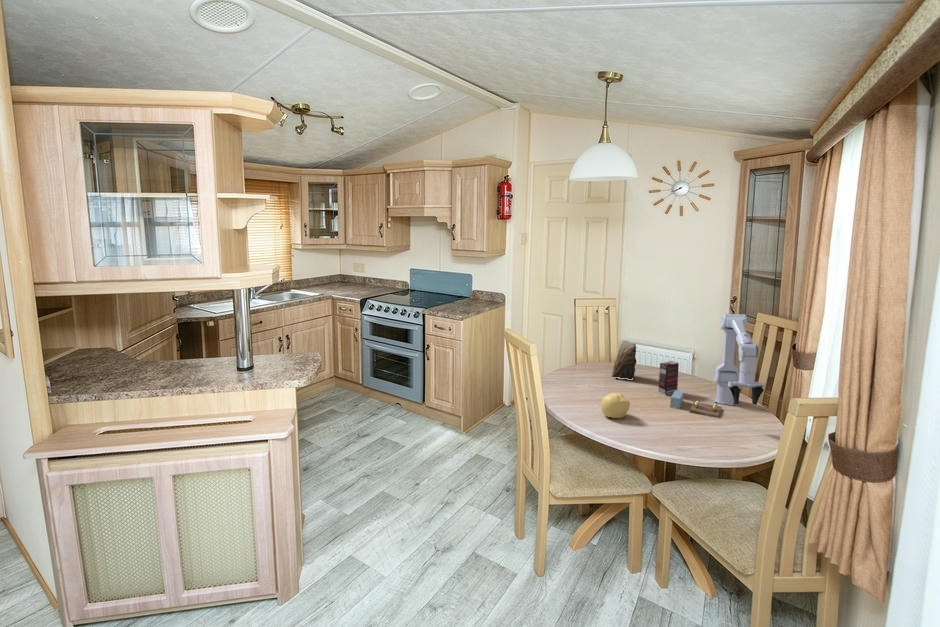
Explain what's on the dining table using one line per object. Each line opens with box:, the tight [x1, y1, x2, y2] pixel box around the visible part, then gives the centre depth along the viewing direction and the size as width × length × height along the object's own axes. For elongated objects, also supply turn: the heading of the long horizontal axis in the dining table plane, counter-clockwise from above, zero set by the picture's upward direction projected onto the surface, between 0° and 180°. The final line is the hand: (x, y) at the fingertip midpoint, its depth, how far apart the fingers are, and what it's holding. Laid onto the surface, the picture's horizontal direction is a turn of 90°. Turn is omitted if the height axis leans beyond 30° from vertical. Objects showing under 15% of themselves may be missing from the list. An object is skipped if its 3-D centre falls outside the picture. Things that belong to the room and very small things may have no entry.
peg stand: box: [689, 400, 723, 418], centre depth 232 cm, size 12×12×4 cm
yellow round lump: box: [600, 392, 631, 419], centre depth 226 cm, size 11×12×11 cm
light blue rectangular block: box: [669, 390, 684, 409], centre depth 240 cm, size 11×4×5 cm, turn 149°
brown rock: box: [611, 339, 637, 379], centre depth 278 cm, size 13×13×20 cm
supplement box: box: [658, 360, 680, 396], centre depth 254 cm, size 9×5×16 cm, turn 115°
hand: (745, 404), depth 212 cm, fingers open, 7 cm apart
